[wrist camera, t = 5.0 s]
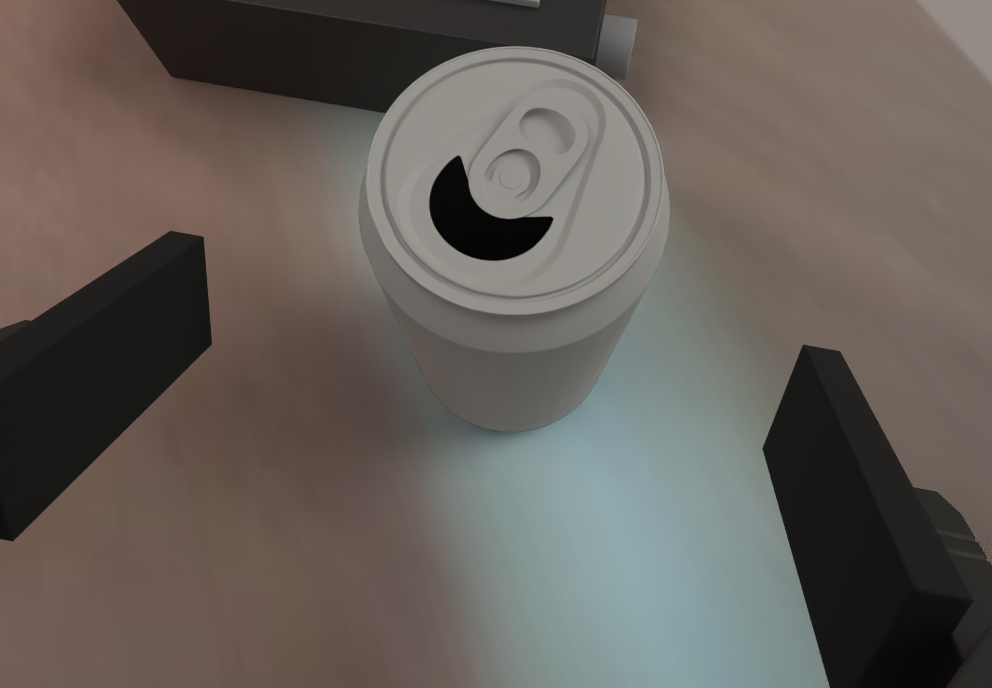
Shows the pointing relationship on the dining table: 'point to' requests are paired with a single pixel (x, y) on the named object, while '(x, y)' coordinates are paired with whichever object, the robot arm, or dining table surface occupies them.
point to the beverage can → (514, 228)
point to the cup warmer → (365, 41)
